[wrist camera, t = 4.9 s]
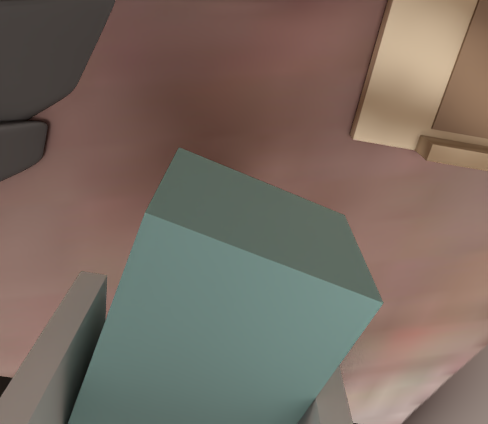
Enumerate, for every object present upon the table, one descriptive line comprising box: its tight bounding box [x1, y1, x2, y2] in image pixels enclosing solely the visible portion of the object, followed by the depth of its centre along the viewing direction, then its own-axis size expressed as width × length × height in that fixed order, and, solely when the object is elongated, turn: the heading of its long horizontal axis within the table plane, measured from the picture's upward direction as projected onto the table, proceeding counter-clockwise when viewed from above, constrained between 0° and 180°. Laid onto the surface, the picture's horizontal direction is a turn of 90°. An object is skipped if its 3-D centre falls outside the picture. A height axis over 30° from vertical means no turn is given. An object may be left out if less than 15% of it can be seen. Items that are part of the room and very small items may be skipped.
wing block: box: [68, 147, 383, 424], centre depth 12 cm, size 10×5×4 cm, turn 157°
